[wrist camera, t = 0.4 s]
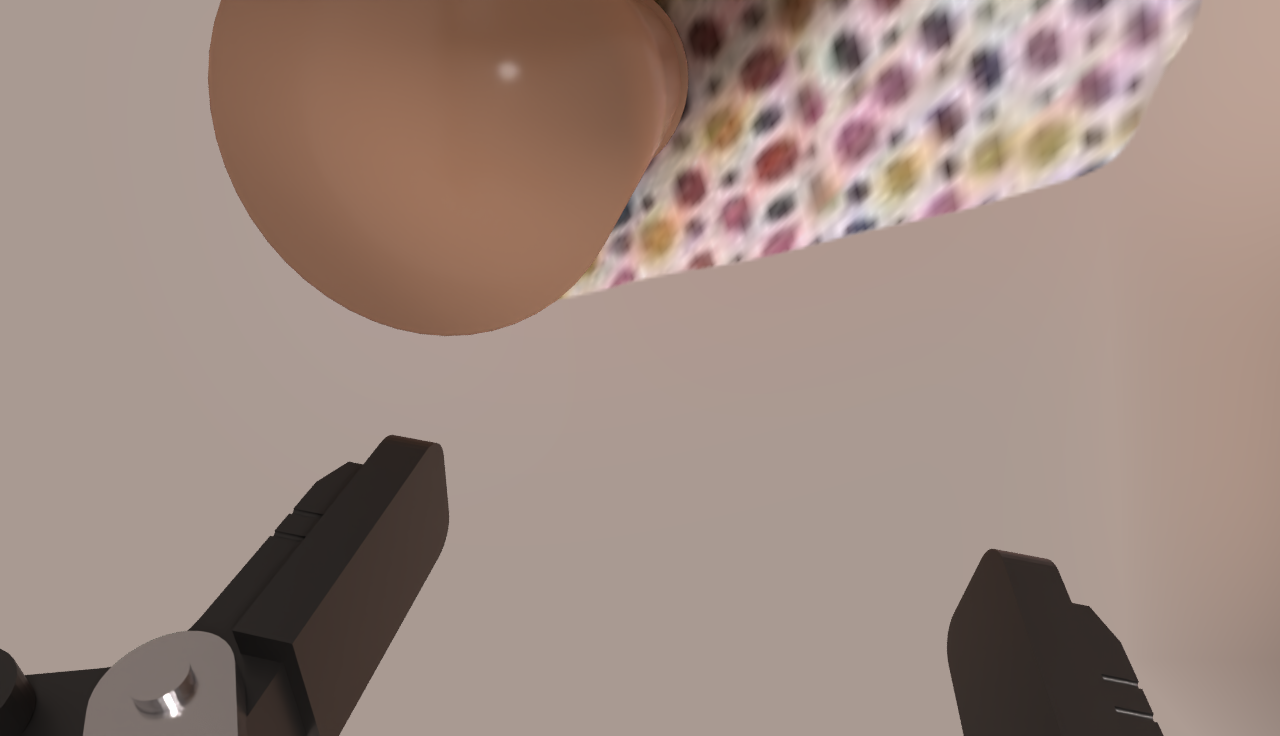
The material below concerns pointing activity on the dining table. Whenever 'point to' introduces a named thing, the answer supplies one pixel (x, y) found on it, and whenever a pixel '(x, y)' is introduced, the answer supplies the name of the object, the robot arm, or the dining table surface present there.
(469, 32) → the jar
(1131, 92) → the dining table surface
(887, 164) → the dining table surface
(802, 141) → the dining table surface
